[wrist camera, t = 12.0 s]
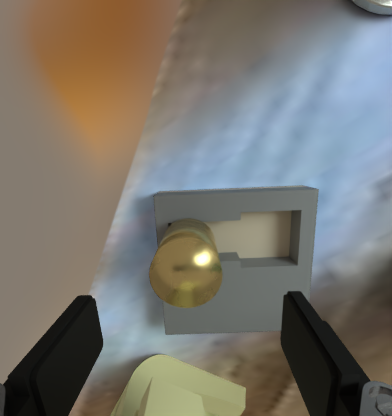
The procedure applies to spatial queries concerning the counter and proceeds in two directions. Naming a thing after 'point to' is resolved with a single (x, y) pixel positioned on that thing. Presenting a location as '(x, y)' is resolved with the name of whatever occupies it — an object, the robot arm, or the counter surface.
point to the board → (245, 253)
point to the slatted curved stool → (178, 391)
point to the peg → (186, 265)
